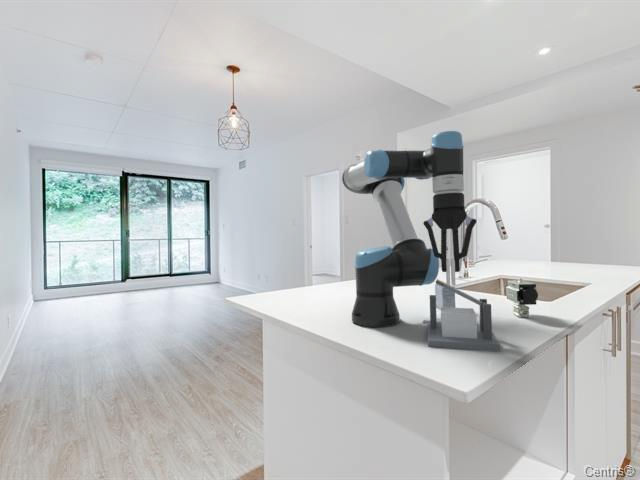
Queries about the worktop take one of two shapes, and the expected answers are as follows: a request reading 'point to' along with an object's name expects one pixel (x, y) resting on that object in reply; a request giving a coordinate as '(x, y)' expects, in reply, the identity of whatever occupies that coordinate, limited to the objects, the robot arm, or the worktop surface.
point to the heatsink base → (462, 341)
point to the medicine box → (444, 297)
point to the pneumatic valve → (521, 296)
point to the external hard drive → (438, 318)
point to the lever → (460, 293)
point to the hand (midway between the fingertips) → (450, 284)
